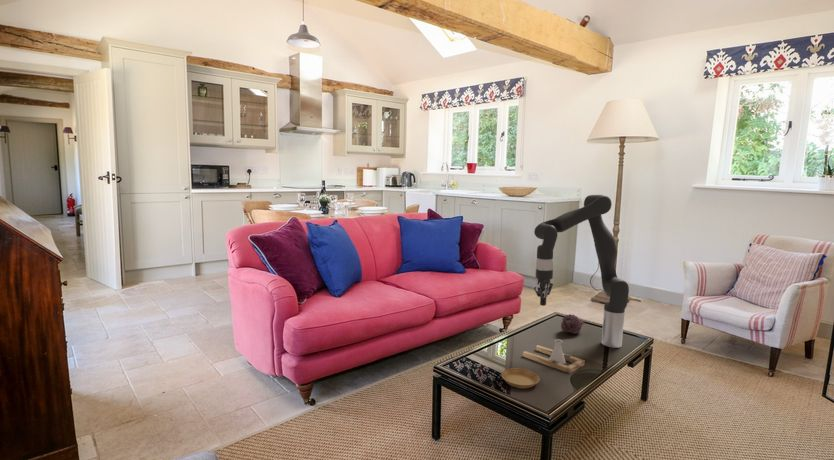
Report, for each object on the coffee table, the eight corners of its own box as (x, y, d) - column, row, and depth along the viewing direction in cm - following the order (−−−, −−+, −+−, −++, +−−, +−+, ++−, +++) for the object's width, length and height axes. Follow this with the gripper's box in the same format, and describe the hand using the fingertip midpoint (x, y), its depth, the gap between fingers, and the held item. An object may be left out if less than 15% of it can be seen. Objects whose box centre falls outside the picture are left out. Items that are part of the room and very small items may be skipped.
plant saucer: (546, 382, 177) (546, 376, 177) (526, 395, 167) (527, 388, 166) (513, 370, 187) (514, 365, 187) (493, 382, 177) (494, 375, 176)
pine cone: (569, 339, 224) (570, 320, 223) (552, 333, 232) (553, 315, 231) (588, 332, 235) (589, 314, 234) (571, 327, 243) (573, 309, 242)
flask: (556, 367, 192) (557, 344, 190) (545, 360, 198) (546, 339, 197) (569, 364, 195) (570, 342, 193) (557, 358, 201) (559, 336, 200)
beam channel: (538, 349, 211) (538, 344, 211) (584, 364, 194) (584, 359, 194) (522, 356, 202) (522, 351, 202) (569, 373, 185) (570, 368, 185)
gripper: (544, 264, 209) (543, 300, 211) (529, 268, 200) (528, 306, 202) (559, 267, 204) (557, 304, 206) (544, 271, 194) (542, 310, 197)
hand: (543, 305), depth 204 cm, fingers closed
